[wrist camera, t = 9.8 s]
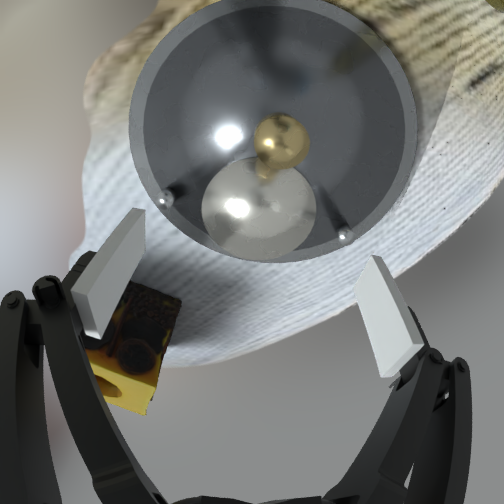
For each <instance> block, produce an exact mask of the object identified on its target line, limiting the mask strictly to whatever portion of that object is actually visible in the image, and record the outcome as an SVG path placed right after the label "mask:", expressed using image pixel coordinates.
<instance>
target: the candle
mask: <svg viewBox="0 0 504 504" xmlns="http://www.w3.org/2000/svg"><path fill="white" fill-rule="evenodd" d="M181 303H182V301H181V300H179V299H176V298H173V297H171V296H168V295H165V294H162V293H160V292H158V291H156V290H152V289H149V288H147V287H145V286H142V285H140V284H136V283H133V282H132V281H129V282H128V284H127V286H126V288H125V290H124V292H123V294H122V296H121V298H120V300H119V302H118V304H117V306H116V308H115V310H114V312H113V314H112V316H111V319H110V321H109V323H108V325H107V327H106V329H105V331H104V334H103V336H102V338H101V339H97V338H94V337H91V336H88V335H86V333H85V330H84V328H82V330H81V332H80V336H81V338H82V342H83V345H84V348H85V351H86V353H87V356H88V359H89V362H90V365H91V367H92V370H93V373H94V375H95V378H96V380H97V383H98V385H99V387H100V390H101V392H102V394H103V397H104V399H105V401H106V402H108V403H111V404H114V405H117V406H119V407H122V408H124V409H127V410H130V411H133V412H136V413H138V414H141V415H146V408H147V406H148V404H149V401H152V398H153V394H154V392H155V390H156V387H157V382H158V377H159V373H160V369H161V365H162V361H163V357H164V354H165V353H166V350H167V346H168V344H169V342H170V338H171V336H172V332H173V330H174V326H175V322H176V318H177V316H178V313H179V311H180V307H181Z"/></svg>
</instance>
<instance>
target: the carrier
mask: <svg viewBox="0 0 504 504" xmlns="http://www.w3.org/2000/svg"><path fill="white" fill-rule="evenodd" d="M417 134H418V123H417V112H416V106H415V102H414V97H413V93H412V90H411V87H410V85H409V82H408V80H407V77H406V75H405V73H404V71H403V69H402V67H401V65H400V64H399V62H398V60H397V58H396V57H395V55H394V54H393V53H392V51H391V50H390V49H389V47H388V46H387V45H386V44H385V42H384V41H383V40H382V39H381V38H380V37H379V36H378V35H377V34H376V33H375V32H374V31H373V30H372V29H371V28H369V27H368V26H367V25H366V24H364V23H363V22H362V21H360V20H359V19H357V18H356V17H355V16H353V15H352V14H350V13H348V12H346V11H344V10H343V9H341V8H339V7H337V6H335V5H332V4H330V3H327V2H325V1H322V0H221V1H219V2H216V3H213V4H211V5H208V6H206V7H204V8H203V9H201V10H199V11H197V12H195V13H194V14H192V15H190V16H189V17H187V18H186V19H185V20H183V21H182V22H181V23H179V24H178V25H177V26H176V27H174V28H173V29H172V30H171V31H170V32H169V33H168V34H167V35H166V36H165V37H164V38H163V39H162V40H161V41H160V43H159V44H158V45H157V46H156V48H155V49H154V51H153V52H152V53H151V55H150V56H149V58H148V59H147V61H146V63H145V65H144V67H143V69H142V71H141V73H140V75H139V77H138V80H137V83H136V86H135V89H134V92H133V95H132V100H131V106H130V111H129V140H130V148H131V153H132V157H133V161H134V165H135V168H136V170H137V173H138V175H139V178H140V180H141V182H142V184H143V186H144V188H145V190H146V191H147V193H148V195H149V197H150V198H151V200H152V201H153V202H154V204H155V205H156V206H157V208H158V209H159V210H160V212H161V213H162V214H163V215H164V216H165V217H166V218H167V219H168V220H169V221H170V222H171V223H172V224H173V225H174V226H176V227H177V228H178V229H179V230H181V231H182V232H183V233H184V234H185V235H187V236H189V237H190V238H192V239H193V240H195V241H196V242H198V243H200V244H202V245H204V246H206V247H208V248H210V249H212V250H214V251H216V252H219V253H222V254H225V255H227V256H230V257H234V258H238V259H242V260H247V261H254V262H262V263H286V262H297V261H302V260H307V259H312V258H315V257H319V256H322V255H325V254H328V253H331V252H333V251H335V250H338V249H340V248H342V247H344V246H347V245H350V244H352V243H353V242H354V241H355V240H356V239H358V238H359V237H360V236H362V235H363V234H365V233H366V232H367V231H369V230H370V229H371V228H372V227H373V226H374V225H375V224H376V223H378V222H379V221H380V220H381V219H382V218H383V216H384V215H385V214H386V213H387V212H388V211H389V209H390V208H391V207H392V206H393V204H394V203H395V201H396V200H397V198H398V197H399V195H400V193H401V192H402V190H403V188H404V186H405V184H406V181H407V179H408V177H409V174H410V171H411V168H412V165H413V162H414V158H415V152H416V147H417Z"/></svg>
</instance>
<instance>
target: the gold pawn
mask: <svg viewBox="0 0 504 504" xmlns="http://www.w3.org/2000/svg"><path fill="white" fill-rule="evenodd" d="M486 1H487V2H488V3H489V4H490V5H491V6H492V7H494V8H495V9H496V10H498V11H500V12H502V13H504V0H486Z"/></svg>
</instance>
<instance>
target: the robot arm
mask: <svg viewBox="0 0 504 504" xmlns="http://www.w3.org/2000/svg"><path fill="white" fill-rule="evenodd" d="M145 251H146V250H145V210H143V209H137V208H132V209H131V210H130V212H129V213H128V214H127V215H126V216H125V218H124V219H123V220H122V221H121V222H120V224H119V225H118V226H117V227H116V229H115V230H114V231H113V232H112V234H111V235H110V236H109V237H108V239H107V240H106V241H105V243H104V244H103V245H102V247H101V248H100V249H99V251H98V252H93V251H88V252H86V253H85V254H83V255H82V256H81V257H80V258H79V259H78V261H77V262H76V263H75V265H74V266H73V267H72V269H71V271H69V273H68V274H67V275H66V277H65V278H64V280H63V281H62V282H60V280H59V279H58V278H57V277H56V276H51V275H49V276H44V277H42V278H40V279H38V280H37V281H36V282H35V284H34V286H33V288H32V292H33V295H34V297H35V299H36V300H26V298H25V297H24V294H23V293H22V292H20V291H16V290H15V291H11V292H9V293H8V294H6V295H5V297H4V298H3V300H2V302H1V306H0V504H62V500H61V495H60V491H59V486H58V483H57V479H56V475H55V470H54V466H53V462H52V456H51V451H50V445H49V439H48V432H47V424H46V415H45V403H44V385H43V353H44V345H45V349H46V354H47V358H48V362H49V366H50V370H51V374H52V378H53V381H54V385H55V388H56V391H57V395H58V398H59V401H60V404H61V407H62V410H63V412H64V416H65V418H66V421H67V424H68V426H69V429H70V431H71V434H72V436H73V438H74V441H75V443H76V445H77V447H78V450H79V452H80V454H81V456H82V458H83V460H84V462H85V464H86V466H87V468H88V470H89V471H90V474H91V476H92V480H93V487H94V490H95V491H96V493H97V495H98V497H99V499H100V500H101V502H102V503H103V504H168V503H167V501H166V500H165V499H164V497H163V496H162V495H161V493H160V492H159V491H158V489H157V488H156V487H155V485H154V484H153V483H152V481H151V480H150V479H149V477H148V476H147V475H146V474H145V472H144V471H143V469H142V468H141V466H140V464H139V463H138V461H137V460H136V458H135V456H134V455H133V453H132V451H131V450H130V448H129V446H128V444H127V443H126V441H125V439H124V437H123V435H122V434H121V432H120V430H119V428H118V426H117V424H116V422H115V420H114V418H113V416H112V414H111V412H110V410H109V408H108V406H107V403H106V401H105V399H104V397H103V394H102V392H101V390H100V387H99V385H98V383H97V380H96V378H95V375H94V373H93V370H92V367H91V365H90V362H89V359H88V356H87V353H86V351H85V348H84V345H83V342H82V338H81V336H80V332H81V330H82V328H84V330H85V333H86V335H88V336H91V337H94V338H97V339H101V338H102V336H103V334H104V331H105V329H106V327H107V325H108V323H109V321H110V319H111V316H112V314H113V312H114V310H115V308H116V306H117V304H118V302H119V300H120V298H121V296H122V294H123V292H124V290H125V288H126V286H127V284H128V282H129V280H130V278H131V277H132V275H133V273H134V271H135V269H136V267H137V265H138V264H139V262H140V260H141V258H142V256H143V255H144V253H145ZM353 291H354V294H355V296H356V299H357V302H358V305H359V308H360V311H361V314H362V316H363V319H364V323H365V326H366V329H367V332H368V335H369V338H370V342H371V345H372V348H373V351H374V355H375V358H376V362H377V365H378V369H379V372H380V376H381V377H393V376H394V375H395V374H396V373H397V372H398V371H400V374H401V376H400V377H399V378H398V379H396V380H395V381H394V382H393V383H392V384H391V385H390V386H389V388H391V387H392V386H394V388H393V390H392V392H391V394H390V396H389V399H388V401H387V403H386V405H385V407H384V409H383V411H382V413H381V415H380V417H379V419H378V421H377V423H376V425H375V426H374V428H373V430H372V432H371V434H370V435H369V437H368V439H367V441H366V443H365V444H364V446H363V447H362V449H361V451H360V452H359V454H358V456H357V457H356V459H355V460H354V462H353V463H352V465H351V466H350V468H349V469H348V471H347V473H346V474H345V475H344V477H343V478H342V480H341V481H340V482H339V483H338V484H337V485H336V486H334V487H333V488H332V489H330V490H329V491H328V492H327V493H326V494H325V496H324V497H323V498H322V499H321V496H315V497H306V498H294V499H284V500H274V501H269V502H264V503H259V504H463V503H464V498H465V493H466V487H467V481H468V474H469V466H470V455H471V442H472V397H471V396H472V395H471V380H470V370H469V366H468V364H467V362H466V361H465V360H464V359H462V358H460V357H457V358H455V359H454V360H453V361H452V362H448V361H445V360H444V358H443V356H442V354H441V353H440V352H439V351H438V350H437V349H435V348H430V346H429V343H428V341H427V339H426V336H425V334H424V332H423V330H422V328H421V325H420V323H419V322H418V319H417V317H416V315H415V313H414V312H413V311H412V309H411V308H410V307H409V306H407V305H406V303H405V301H404V299H403V297H402V295H401V293H400V291H399V289H398V287H397V285H396V283H395V281H394V279H393V277H392V275H391V274H390V272H389V270H388V268H387V266H386V264H385V263H384V261H383V259H382V257H379V256H375V255H371V256H370V258H369V260H368V262H367V264H366V265H365V267H364V269H363V271H362V273H361V275H360V276H359V278H358V280H357V282H356V284H355V285H354V287H353ZM448 392H449V397H448V398H447V399H445V394H447V393H448ZM413 463H414V465H413ZM412 465H413V470H412V474H411V478H410V482H409V486H408V490H407V488H406V487H404V483H405V480H406V478H407V476H408V474H409V472H410V470H411V468H412ZM403 502H404V503H403ZM173 504H252V503H247V502H244V501H240V500H236V499H230V498H219V497H209V496H199V497H193V498H187V499H183V500H180V501H177V502H174V503H173Z"/></svg>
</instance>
